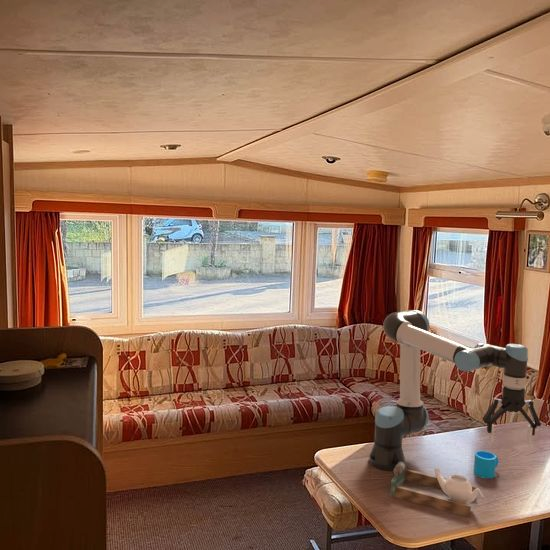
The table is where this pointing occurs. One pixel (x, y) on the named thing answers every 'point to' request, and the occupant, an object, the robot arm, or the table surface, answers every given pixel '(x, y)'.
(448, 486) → the teapot
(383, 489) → the table surface
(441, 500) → the bay
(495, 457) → the mug
